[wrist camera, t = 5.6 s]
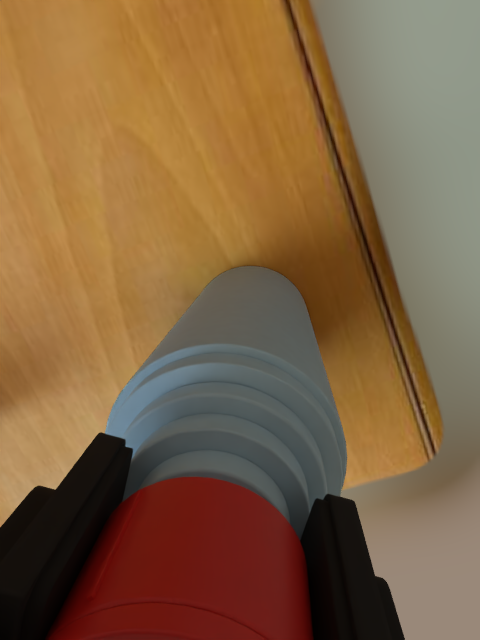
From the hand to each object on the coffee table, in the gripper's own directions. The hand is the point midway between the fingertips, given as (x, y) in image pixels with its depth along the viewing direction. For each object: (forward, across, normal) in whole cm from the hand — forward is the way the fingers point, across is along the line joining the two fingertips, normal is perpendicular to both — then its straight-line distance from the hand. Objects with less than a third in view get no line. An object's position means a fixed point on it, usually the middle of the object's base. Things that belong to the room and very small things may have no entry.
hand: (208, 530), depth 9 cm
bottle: (+17, 0, 0) cm, 17 cm away
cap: (-1, 0, 0) cm, 1 cm away
